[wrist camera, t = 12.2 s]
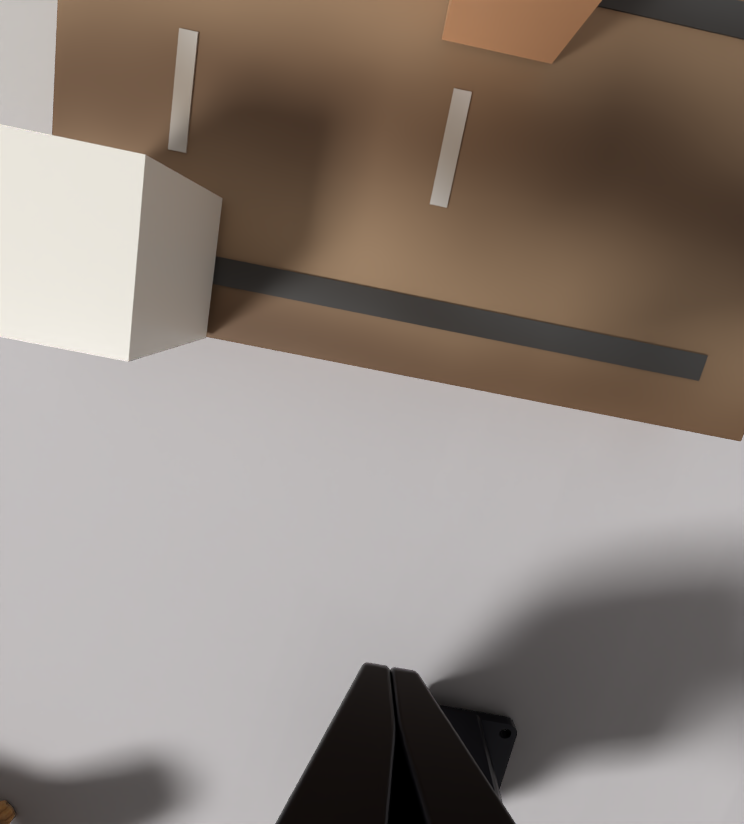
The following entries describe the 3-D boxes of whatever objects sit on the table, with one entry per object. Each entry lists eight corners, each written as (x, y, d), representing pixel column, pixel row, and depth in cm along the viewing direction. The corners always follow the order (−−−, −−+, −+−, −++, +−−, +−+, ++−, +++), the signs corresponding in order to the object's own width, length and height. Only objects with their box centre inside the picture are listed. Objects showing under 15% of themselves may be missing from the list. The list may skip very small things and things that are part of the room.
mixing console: (685, 417, 19) (741, 441, 16) (97, 302, 18) (43, 305, 15) (824, 25, 16) (925, -33, 13) (126, -136, 15) (66, -237, 12)
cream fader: (206, 337, 15) (128, 361, 11) (106, 318, 15) (-19, 333, 10) (222, 198, 15) (145, 154, 10) (116, 176, 14) (-16, 120, 10)
